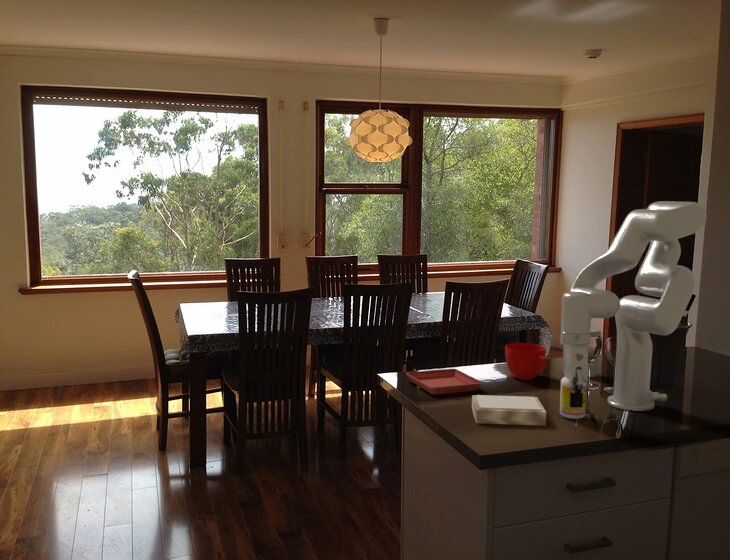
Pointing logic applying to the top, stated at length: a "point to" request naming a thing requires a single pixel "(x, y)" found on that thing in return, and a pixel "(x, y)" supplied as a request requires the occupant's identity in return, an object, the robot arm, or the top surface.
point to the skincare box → (594, 364)
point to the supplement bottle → (565, 400)
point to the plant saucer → (444, 381)
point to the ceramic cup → (525, 359)
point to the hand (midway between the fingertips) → (572, 402)
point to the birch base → (508, 410)
